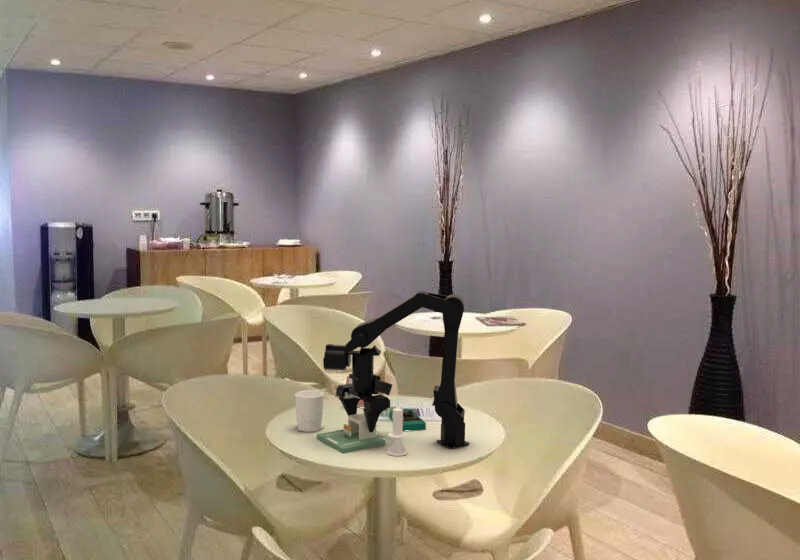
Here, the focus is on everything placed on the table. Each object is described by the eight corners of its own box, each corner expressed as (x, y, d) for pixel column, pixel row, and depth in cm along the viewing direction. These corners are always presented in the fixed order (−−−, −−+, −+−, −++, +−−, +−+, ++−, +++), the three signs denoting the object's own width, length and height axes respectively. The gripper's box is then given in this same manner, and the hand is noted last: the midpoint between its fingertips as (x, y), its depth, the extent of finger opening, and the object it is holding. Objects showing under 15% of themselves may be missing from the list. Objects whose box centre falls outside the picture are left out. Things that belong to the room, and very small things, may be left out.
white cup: (329, 427, 211) (329, 392, 210) (312, 434, 205) (312, 399, 204) (306, 422, 215) (306, 389, 214) (289, 429, 209) (289, 394, 208)
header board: (385, 444, 197) (385, 439, 197) (342, 453, 190) (342, 448, 190) (357, 430, 209) (358, 426, 208) (316, 438, 201) (316, 433, 201)
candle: (386, 449, 193) (386, 404, 192) (406, 449, 194) (407, 404, 192) (387, 456, 188) (388, 409, 187) (408, 456, 188) (409, 409, 187)
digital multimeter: (411, 416, 225) (411, 407, 224) (426, 431, 211) (426, 421, 210) (387, 418, 223) (388, 408, 222) (401, 433, 209) (401, 423, 208)
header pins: (352, 439, 197) (352, 427, 197) (349, 439, 197) (349, 427, 196) (345, 435, 200) (345, 424, 200) (343, 436, 200) (343, 424, 199)
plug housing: (376, 436, 200) (376, 418, 199) (360, 439, 197) (360, 421, 196) (363, 430, 205) (363, 412, 204) (347, 433, 202) (348, 415, 202)
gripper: (407, 374, 196) (406, 431, 198) (369, 361, 211) (369, 415, 213) (371, 379, 190) (371, 439, 191) (335, 365, 205) (335, 421, 207)
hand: (362, 427), depth 201 cm, fingers open, 9 cm apart
